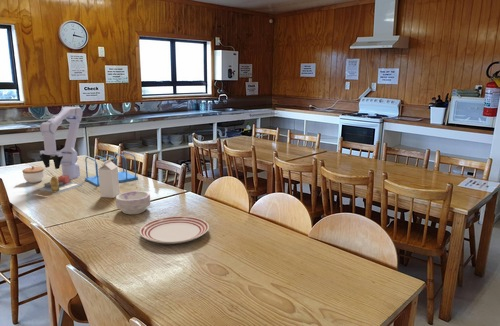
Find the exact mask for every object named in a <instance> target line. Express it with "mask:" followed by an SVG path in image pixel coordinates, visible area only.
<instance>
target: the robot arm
mask: <svg viewBox="0 0 500 326" xmlns="http://www.w3.org/2000/svg"><path fill="white" fill-rule="evenodd" d="M83 114H84V113H83V110H82V108H81V107H80V106H68V105H67V106H63V107H62V108H61V111H60V112H59V113H58V114H57V115H52V117H51V118H49V119H47V121H46V122H45V121H43V122H42V123H40V125H39V131H40V133H41V136H42V137H43V138H42V139H43V145H44V146H43V147H44V150H39V154H40V155H39V158H40V159H41V161H42V162H43V164H44V167H45V169H46V168H50V163H51V162H50V161H51V159H52V162H53V164H54V168H55V170H57V169H59V170H60V166H61V173H62V175H69V180H74V179H76V178H79V177H82V176H81V170H80V165H79V164H78V163H77V162H78V155H79V154H78V152H77V151H76V150H75V147H76V140H77V137H78V132H79V128H80V124H81V122H82V119H83ZM63 120H66V121H67V122H68V123H69V125H68V126H69V127H68V131H67V134H66V139H65V143H64V147H63V148H62V149H60V150H59V151H57V143H56V134H55V133H56V132H57V129H58V127H59V126H60V125H62V124H63ZM62 175H61V176H62Z"/></svg>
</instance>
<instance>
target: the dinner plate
mask: <svg viewBox="0 0 500 326" xmlns="http://www.w3.org/2000/svg"><path fill="white" fill-rule="evenodd" d="M209 229H210V225H209V223H208V222H207V221H206V220H204V219H201V218H198V217H194V216H187V215H177V216H173V215H172V216H167V217H162V218H157V219H154V220H151V221H148V222H146V223H144V225H142V226H141V227H140V229H139V234H140V236H141V237H142V238H143V239H145V240H147V241H150V242H153V243H158V244H166V245H167V244H168V245H171V244H172V245H175V244H182V243H186V242H190V241H194V240H196V239H198V238H201V237H202V236H203V235H205V234H206V233H207V232H208V231H209Z"/></svg>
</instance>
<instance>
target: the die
mask: <svg viewBox="0 0 500 326" xmlns="http://www.w3.org/2000/svg"><path fill="white" fill-rule="evenodd" d="M57 179H58V181H61V182H63V183H64V184H67V183H69V182H71V181H70V179H69V175H60V176H58V177H57Z"/></svg>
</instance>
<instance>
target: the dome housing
mask: <svg viewBox="0 0 500 326" xmlns="http://www.w3.org/2000/svg"><path fill="white" fill-rule="evenodd" d="M58 183H59V186H62V185H64V183H63V182H61V181H59V180H58ZM43 186H44V187H49V188H51V184H50V181H49V182H45V183H44V184H43Z"/></svg>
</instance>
